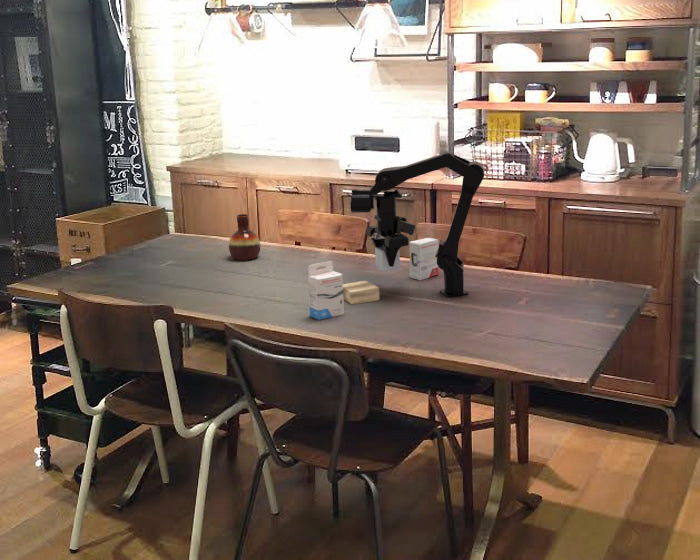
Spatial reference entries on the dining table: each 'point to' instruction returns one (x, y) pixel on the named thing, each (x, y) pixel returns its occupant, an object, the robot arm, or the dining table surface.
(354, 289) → the beige square block
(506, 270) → the dining table surface
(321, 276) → the ink box
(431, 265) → the ink box
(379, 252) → the gray paneled cube
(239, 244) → the vase
